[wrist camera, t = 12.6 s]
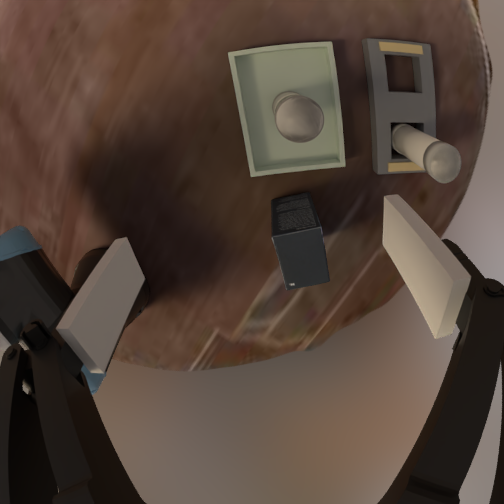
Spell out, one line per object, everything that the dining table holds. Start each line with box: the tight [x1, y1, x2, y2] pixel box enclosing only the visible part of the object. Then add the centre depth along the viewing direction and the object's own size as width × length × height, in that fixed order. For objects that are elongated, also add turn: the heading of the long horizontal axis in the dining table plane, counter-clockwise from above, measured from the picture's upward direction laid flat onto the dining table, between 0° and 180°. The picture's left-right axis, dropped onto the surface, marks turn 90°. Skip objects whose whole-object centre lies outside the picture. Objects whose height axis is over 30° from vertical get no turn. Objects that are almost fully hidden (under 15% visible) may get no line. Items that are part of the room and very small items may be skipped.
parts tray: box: [228, 42, 345, 177], centre depth 32 cm, size 16×12×2 cm
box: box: [271, 192, 330, 290], centre depth 38 cm, size 8×6×11 cm
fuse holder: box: [362, 38, 436, 175], centre depth 31 cm, size 18×9×2 cm, turn 9°
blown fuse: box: [272, 91, 324, 143], centre depth 28 cm, size 4×4×12 cm
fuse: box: [391, 123, 461, 183], centre depth 29 cm, size 4×4×12 cm
